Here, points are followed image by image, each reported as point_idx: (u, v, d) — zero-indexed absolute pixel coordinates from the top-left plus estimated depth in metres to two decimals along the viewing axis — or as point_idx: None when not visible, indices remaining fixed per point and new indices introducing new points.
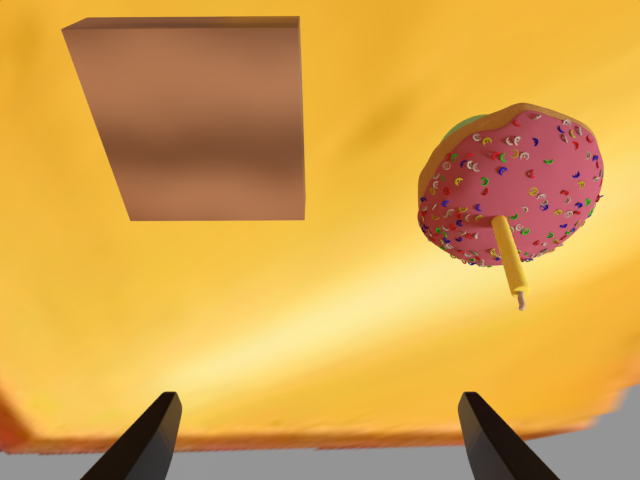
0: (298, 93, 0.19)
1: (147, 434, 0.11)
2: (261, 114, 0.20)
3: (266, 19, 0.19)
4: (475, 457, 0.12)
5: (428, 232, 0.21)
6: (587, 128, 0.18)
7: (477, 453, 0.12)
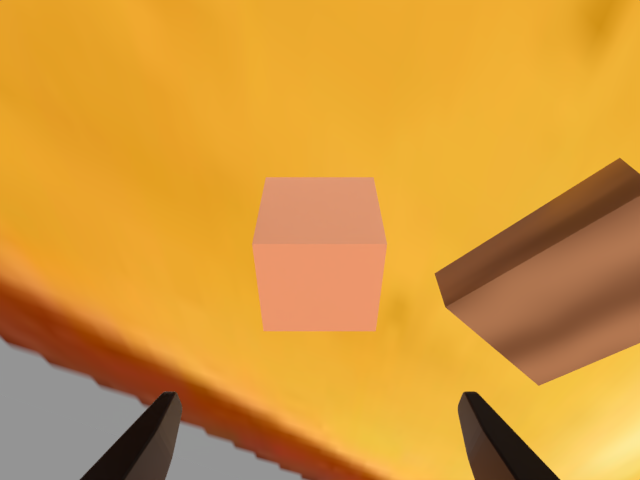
0: None
1: (147, 434, 0.11)
2: None
3: (595, 186, 0.18)
4: (474, 457, 0.12)
5: None
6: None
7: (477, 453, 0.12)
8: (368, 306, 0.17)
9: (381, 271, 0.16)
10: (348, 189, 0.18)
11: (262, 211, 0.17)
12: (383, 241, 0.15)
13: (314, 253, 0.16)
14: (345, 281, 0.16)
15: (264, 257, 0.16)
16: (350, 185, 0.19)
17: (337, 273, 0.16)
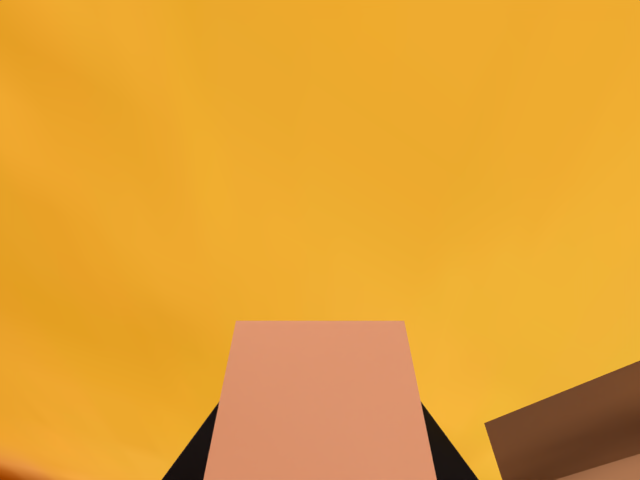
0: None
1: None
2: None
3: None
4: None
5: None
6: None
7: None
8: None
9: None
10: (366, 354, 0.11)
11: (222, 413, 0.10)
12: None
13: None
14: None
15: None
16: (368, 342, 0.12)
17: None
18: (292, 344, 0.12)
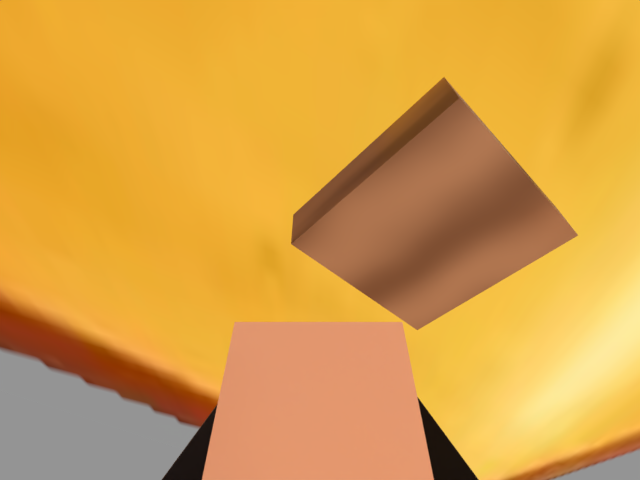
0: (496, 144, 0.17)
1: None
2: (473, 185, 0.18)
3: (419, 108, 0.18)
4: None
5: None
6: None
7: None
8: None
9: None
10: (364, 355, 0.11)
11: (221, 415, 0.10)
12: None
13: None
14: None
15: None
16: (366, 343, 0.12)
17: None
18: (290, 345, 0.12)
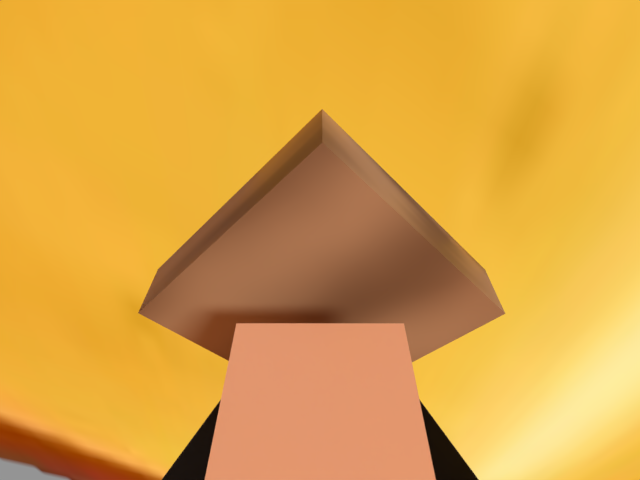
0: (383, 203, 0.13)
1: None
2: (361, 251, 0.14)
3: (289, 149, 0.13)
4: None
5: None
6: None
7: None
8: None
9: None
10: (366, 356, 0.11)
11: (223, 416, 0.10)
12: None
13: None
14: None
15: None
16: (368, 344, 0.12)
17: None
18: (292, 347, 0.12)
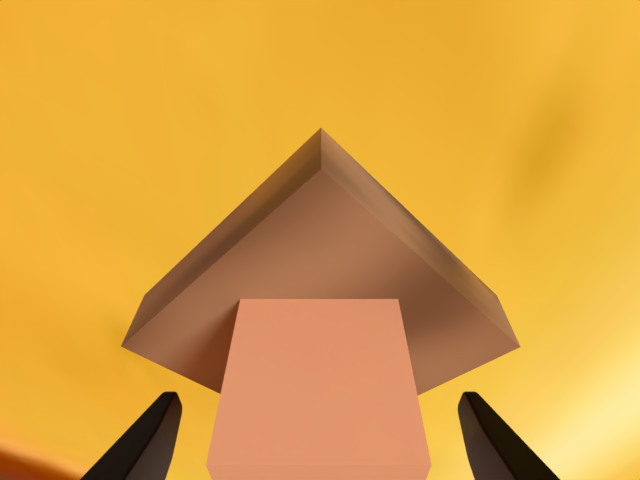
0: (389, 233, 0.11)
1: (147, 434, 0.11)
2: (364, 283, 0.13)
3: (285, 171, 0.12)
4: (475, 457, 0.12)
5: None
6: None
7: (477, 453, 0.12)
8: None
9: None
10: (361, 328, 0.12)
11: (229, 380, 0.11)
12: (424, 457, 0.09)
13: (310, 473, 0.09)
14: None
15: (227, 477, 0.10)
16: (364, 317, 0.12)
17: None
18: (293, 320, 0.12)
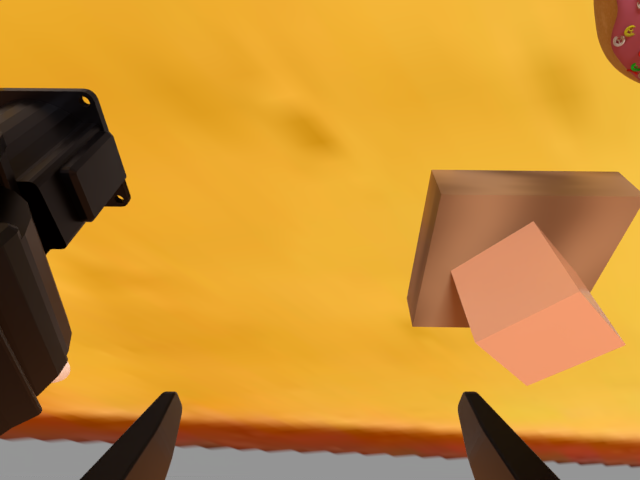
0: (497, 196, 0.20)
1: (147, 434, 0.11)
2: (507, 225, 0.21)
3: (429, 200, 0.23)
4: (475, 457, 0.12)
5: None
6: None
7: (477, 453, 0.12)
8: (602, 333, 0.19)
9: (591, 308, 0.18)
10: (519, 248, 0.21)
11: (466, 308, 0.21)
12: (575, 289, 0.17)
13: (525, 325, 0.19)
14: (566, 328, 0.19)
15: (489, 345, 0.20)
16: (518, 242, 0.21)
17: (554, 327, 0.19)
18: (481, 265, 0.22)
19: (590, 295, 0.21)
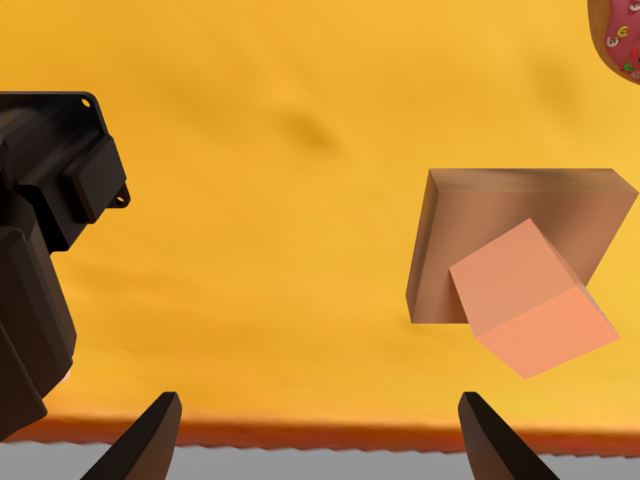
0: (494, 194, 0.21)
1: (147, 434, 0.11)
2: (503, 222, 0.22)
3: (427, 198, 0.23)
4: (475, 457, 0.12)
5: None
6: None
7: (477, 453, 0.12)
8: (598, 326, 0.19)
9: (588, 302, 0.18)
10: (516, 245, 0.21)
11: (465, 304, 0.21)
12: (572, 284, 0.18)
13: (523, 320, 0.19)
14: (563, 322, 0.19)
15: (489, 340, 0.20)
16: (515, 239, 0.21)
17: (552, 321, 0.19)
18: (479, 262, 0.22)
19: (586, 290, 0.21)
